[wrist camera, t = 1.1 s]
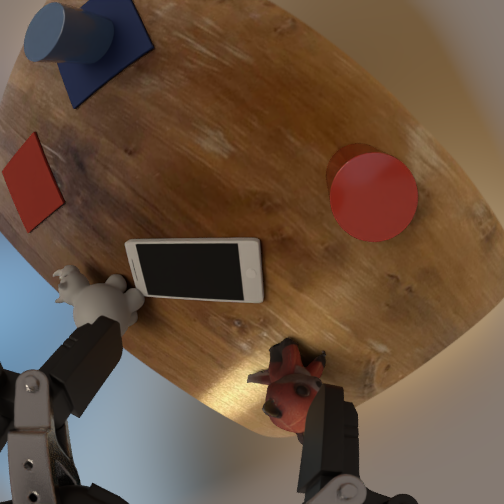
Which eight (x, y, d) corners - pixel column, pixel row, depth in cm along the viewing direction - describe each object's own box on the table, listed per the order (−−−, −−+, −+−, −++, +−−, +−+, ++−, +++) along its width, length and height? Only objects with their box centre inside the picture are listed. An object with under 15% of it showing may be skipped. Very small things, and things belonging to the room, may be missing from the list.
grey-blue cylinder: (68, 38, 24) (19, 32, 17) (105, 5, 22) (58, -10, 15) (81, 75, 26) (30, 74, 19) (121, 42, 24) (71, 31, 17)
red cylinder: (315, 156, 26) (315, 170, 19) (378, 134, 24) (403, 140, 17) (339, 218, 28) (346, 253, 21) (399, 197, 26) (426, 226, 19)
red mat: (3, 170, 34) (1, 171, 33) (35, 131, 30) (33, 131, 30) (29, 232, 37) (27, 233, 37) (65, 202, 34) (63, 203, 33)
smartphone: (264, 299, 33) (263, 303, 32) (141, 292, 36) (137, 296, 36) (259, 237, 30) (257, 240, 29) (127, 238, 34) (123, 242, 33)
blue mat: (51, 38, 24) (49, 38, 24) (121, -23, 20) (119, -24, 20) (75, 108, 28) (73, 109, 28) (154, 47, 24) (152, 47, 24)
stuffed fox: (233, 360, 38) (206, 434, 27) (297, 316, 33) (285, 401, 23) (274, 391, 39) (258, 464, 29) (339, 353, 35) (340, 436, 24)
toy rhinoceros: (86, 235, 35) (39, 261, 28) (155, 294, 36) (115, 333, 28) (75, 273, 39) (34, 301, 31) (137, 327, 39) (101, 365, 31)
